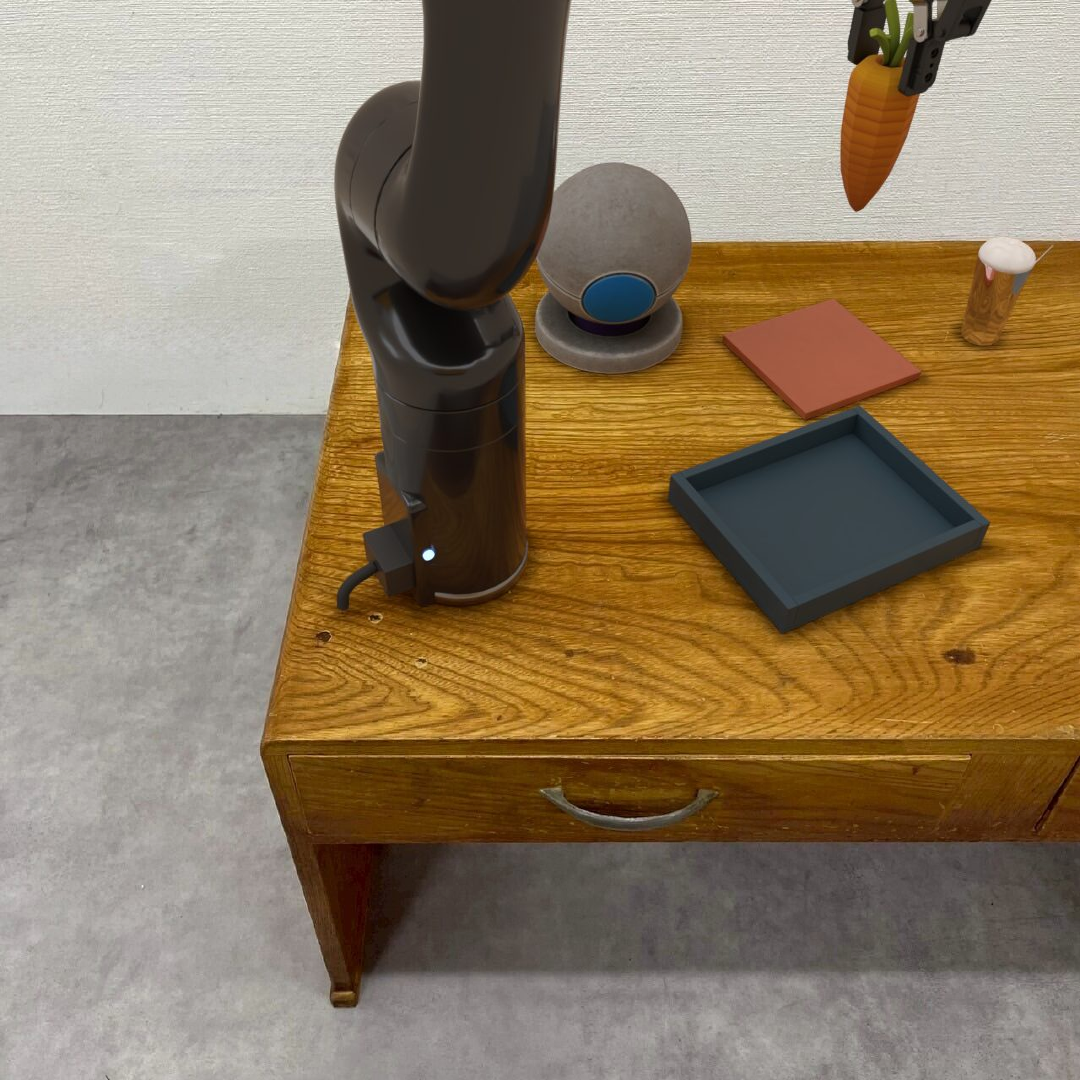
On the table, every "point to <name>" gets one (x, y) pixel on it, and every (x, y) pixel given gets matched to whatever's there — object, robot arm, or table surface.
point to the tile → (820, 358)
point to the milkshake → (996, 288)
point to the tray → (824, 516)
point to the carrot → (876, 113)
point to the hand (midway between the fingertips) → (887, 75)
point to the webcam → (613, 270)
